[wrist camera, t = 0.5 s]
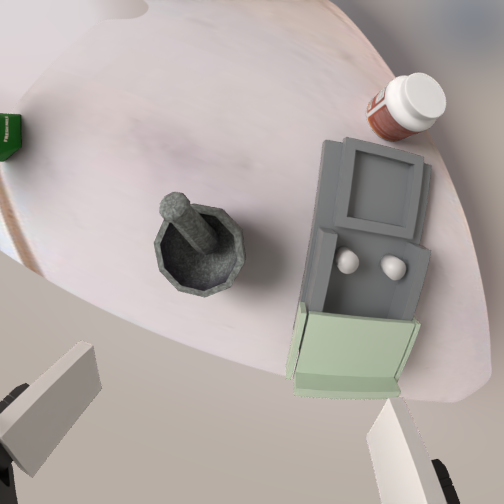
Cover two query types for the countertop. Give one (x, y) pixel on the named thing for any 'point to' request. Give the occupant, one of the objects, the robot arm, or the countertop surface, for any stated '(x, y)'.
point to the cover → (349, 355)
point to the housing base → (367, 232)
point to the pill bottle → (406, 107)
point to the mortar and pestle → (198, 246)
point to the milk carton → (9, 135)
